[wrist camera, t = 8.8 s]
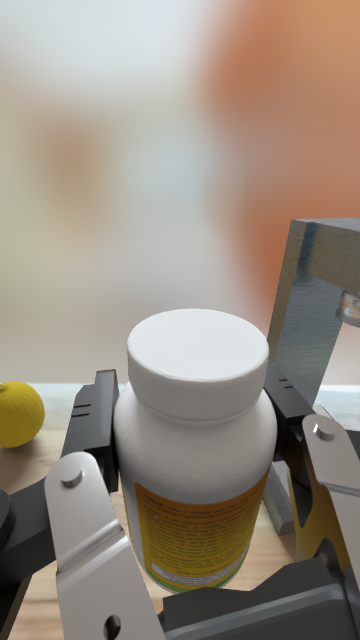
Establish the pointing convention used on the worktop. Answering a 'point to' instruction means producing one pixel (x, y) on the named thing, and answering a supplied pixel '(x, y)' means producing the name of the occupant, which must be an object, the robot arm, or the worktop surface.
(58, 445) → the worktop surface
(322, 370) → the arbor press
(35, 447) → the worktop surface
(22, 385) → the lemon
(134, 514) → the supplement bottle
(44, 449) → the worktop surface
